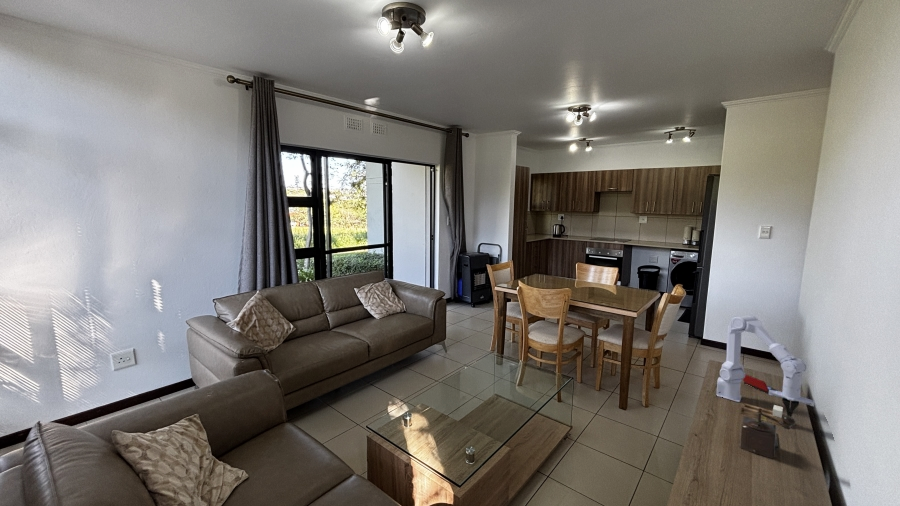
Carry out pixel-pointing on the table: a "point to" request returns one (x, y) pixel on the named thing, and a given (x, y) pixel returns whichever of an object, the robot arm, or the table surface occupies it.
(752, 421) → the dark brown boxy piece
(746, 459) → the table surface
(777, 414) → the block
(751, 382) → the handheld game console
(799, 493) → the table surface
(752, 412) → the brown wooden frame
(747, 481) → the table surface
